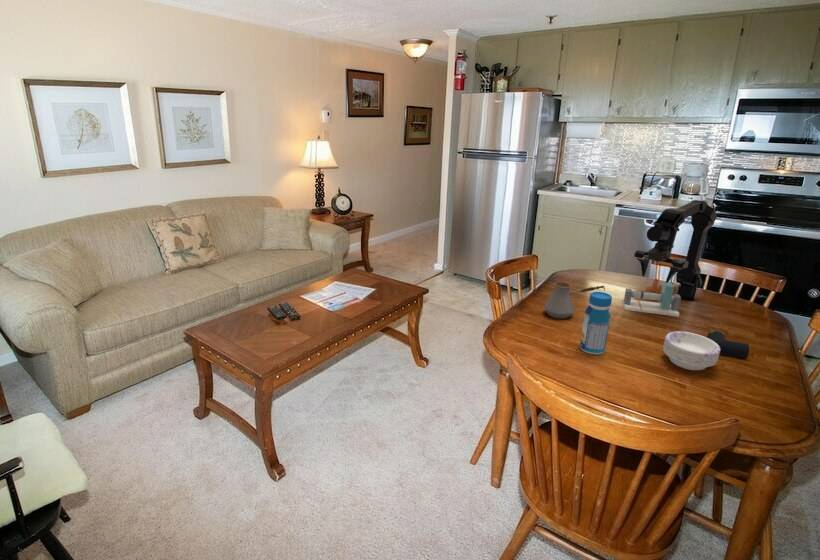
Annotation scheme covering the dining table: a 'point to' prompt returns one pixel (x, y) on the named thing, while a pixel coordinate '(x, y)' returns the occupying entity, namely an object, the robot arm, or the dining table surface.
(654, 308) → the pipe rig
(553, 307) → the coffee pot
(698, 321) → the dining table surface
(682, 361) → the paper bowls
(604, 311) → the beverage bottle
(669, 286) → the sleeve collar
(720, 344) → the pipe connector
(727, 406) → the dining table surface
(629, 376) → the dining table surface
